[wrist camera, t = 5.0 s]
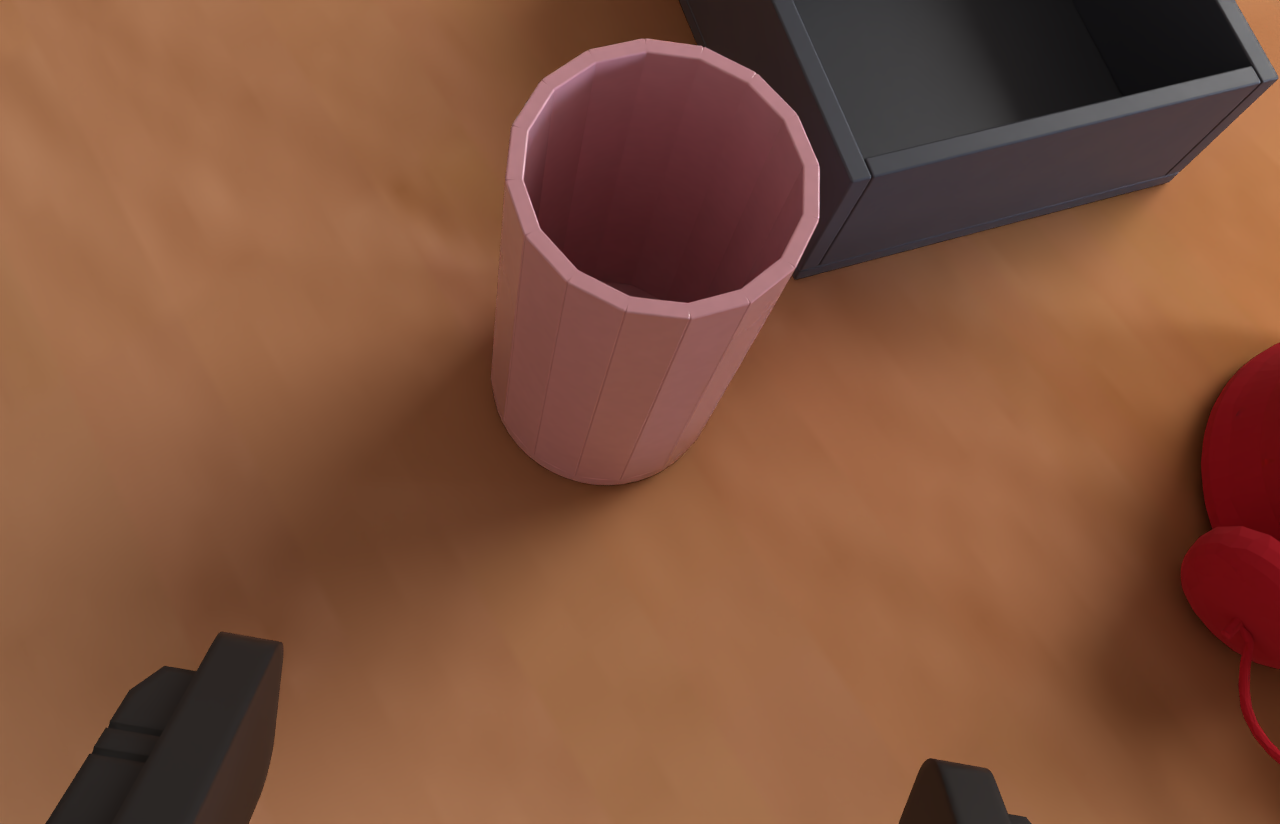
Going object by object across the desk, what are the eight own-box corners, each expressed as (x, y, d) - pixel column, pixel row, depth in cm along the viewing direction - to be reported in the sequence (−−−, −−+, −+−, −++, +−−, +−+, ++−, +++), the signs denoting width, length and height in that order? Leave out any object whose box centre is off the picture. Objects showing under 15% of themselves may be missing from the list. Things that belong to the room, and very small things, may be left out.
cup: (668, 258, 35) (755, 14, 25) (741, 450, 34) (867, 273, 23) (464, 309, 34) (468, 72, 24) (530, 513, 32) (564, 352, 22)
